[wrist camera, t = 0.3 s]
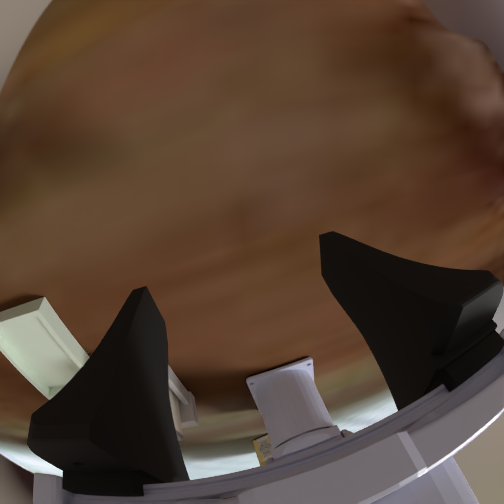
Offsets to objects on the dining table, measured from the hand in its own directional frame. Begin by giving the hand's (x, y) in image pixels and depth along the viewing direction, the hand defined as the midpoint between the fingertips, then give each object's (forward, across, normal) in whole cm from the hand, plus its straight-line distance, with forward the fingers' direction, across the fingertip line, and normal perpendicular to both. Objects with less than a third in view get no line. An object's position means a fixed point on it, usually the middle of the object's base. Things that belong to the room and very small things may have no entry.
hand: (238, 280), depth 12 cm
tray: (+10, +21, +10) cm, 25 cm away
